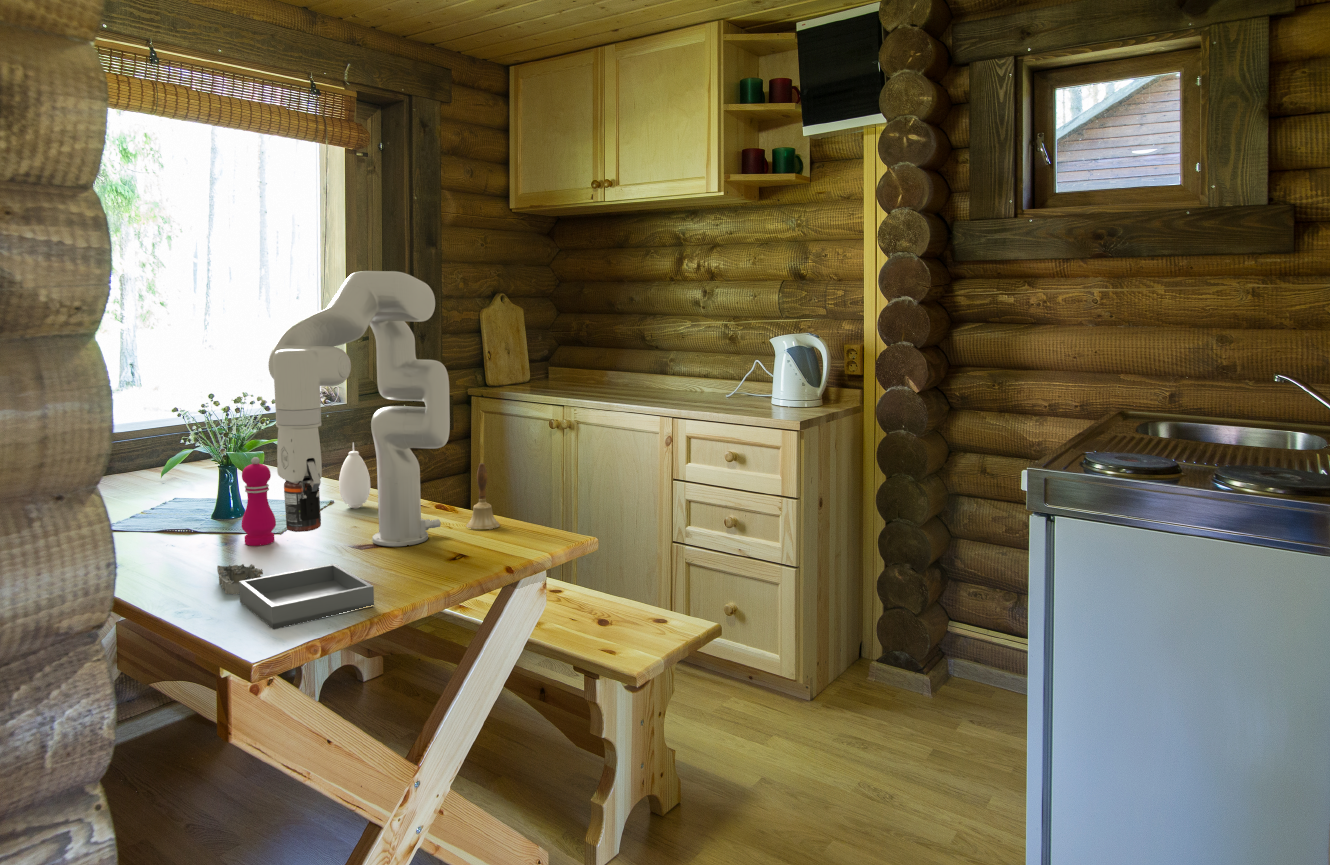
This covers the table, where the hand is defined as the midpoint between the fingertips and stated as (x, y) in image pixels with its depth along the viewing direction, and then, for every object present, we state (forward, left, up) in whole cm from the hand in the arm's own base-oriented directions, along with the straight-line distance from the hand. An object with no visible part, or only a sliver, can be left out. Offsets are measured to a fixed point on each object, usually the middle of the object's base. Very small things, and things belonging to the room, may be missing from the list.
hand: (303, 514), depth 163 cm
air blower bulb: (-38, -69, -17) cm, 81 cm away
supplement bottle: (0, 0, -3) cm, 3 cm away
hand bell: (-55, -31, -17) cm, 65 cm away
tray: (0, 0, -17) cm, 17 cm away
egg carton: (+6, -19, -17) cm, 26 cm away
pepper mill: (-7, -49, -17) cm, 52 cm away
